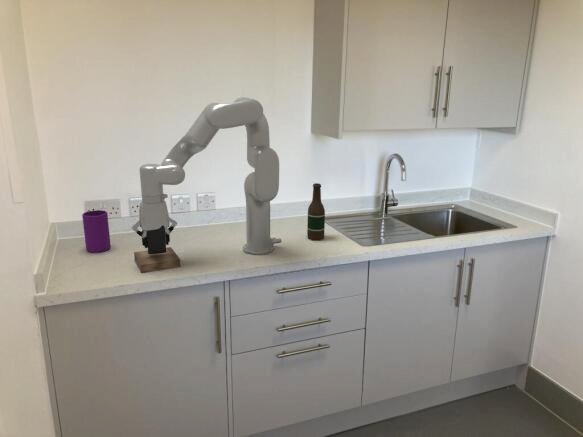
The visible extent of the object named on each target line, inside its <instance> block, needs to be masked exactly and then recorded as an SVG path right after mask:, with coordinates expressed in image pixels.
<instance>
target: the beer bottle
mask: <svg viewBox="0 0 583 437" xmlns="http://www.w3.org/2000/svg"><path fill="white" fill-rule="evenodd" d="M312 187H313V188H312V189H313V190H312V199H311V202H310V204H309V205H308V207H307V225H306V227H307V229H306V230H307V231H306V232H307V233H306V235H307V240H310V241H314V242H315V241H317V242H318V241H322V240H324V239H325V226H326V225H325V222H326V221H325V220H326V210H325V207H324V204H323V203H322V194H321V193H322V191H321V188H322V184H321V183H318V182H317V183H313V184H312Z"/></svg>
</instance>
